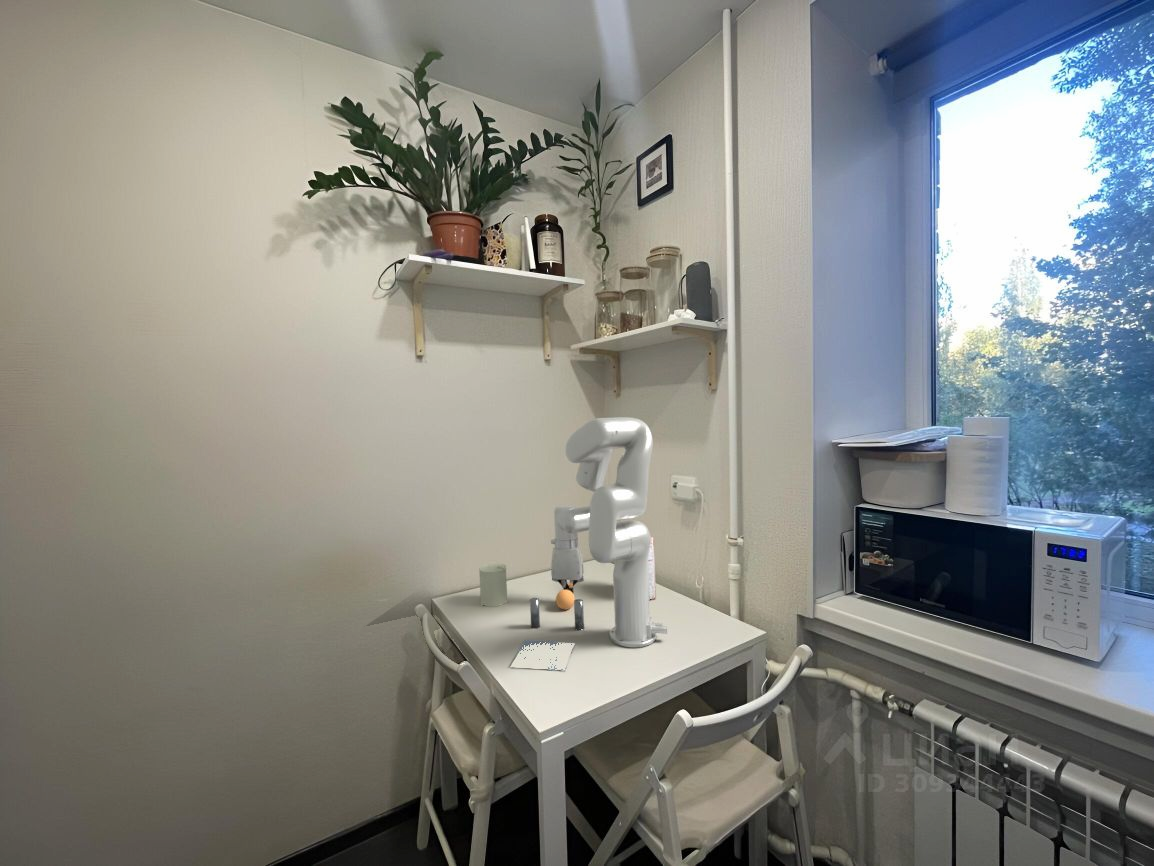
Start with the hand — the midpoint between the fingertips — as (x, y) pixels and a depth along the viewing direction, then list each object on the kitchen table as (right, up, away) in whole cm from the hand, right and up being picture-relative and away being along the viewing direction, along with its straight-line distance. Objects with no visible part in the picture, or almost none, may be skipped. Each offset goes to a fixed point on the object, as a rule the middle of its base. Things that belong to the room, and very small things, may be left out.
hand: (568, 598), depth 149 cm
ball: (-1, +1, -5) cm, 5 cm away
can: (-25, -3, +4) cm, 26 cm away
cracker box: (+24, -1, +6) cm, 24 cm away
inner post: (+3, -2, -19) cm, 19 cm away
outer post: (-9, -2, -17) cm, 19 cm away
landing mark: (-6, -2, -34) cm, 34 cm away
